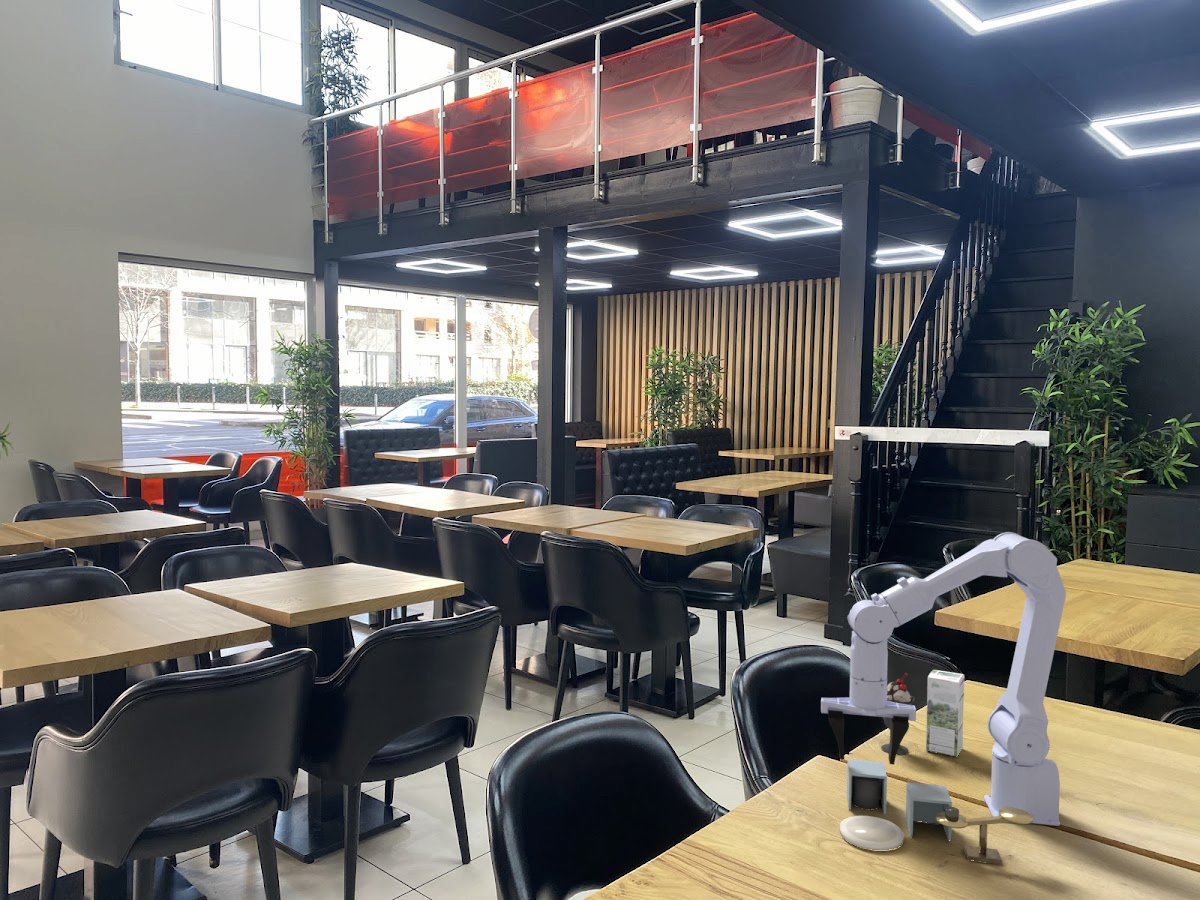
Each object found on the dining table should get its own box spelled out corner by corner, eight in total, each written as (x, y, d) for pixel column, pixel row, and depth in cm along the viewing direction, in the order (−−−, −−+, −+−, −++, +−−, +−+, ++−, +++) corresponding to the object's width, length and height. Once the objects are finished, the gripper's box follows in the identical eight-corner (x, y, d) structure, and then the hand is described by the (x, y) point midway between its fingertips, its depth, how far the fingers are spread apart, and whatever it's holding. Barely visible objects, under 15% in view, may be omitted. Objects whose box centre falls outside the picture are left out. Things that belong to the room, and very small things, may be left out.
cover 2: (944, 824, 132) (945, 785, 131) (950, 841, 126) (951, 802, 126) (905, 819, 133) (906, 781, 133) (910, 837, 127) (911, 797, 127)
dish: (899, 825, 131) (899, 819, 131) (906, 855, 122) (906, 847, 122) (838, 819, 133) (838, 812, 133) (841, 847, 124) (841, 840, 124)
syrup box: (963, 748, 162) (965, 672, 161) (957, 759, 157) (959, 681, 156) (931, 742, 165) (933, 667, 164) (925, 752, 160) (926, 675, 159)
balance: (1027, 855, 122) (1028, 809, 122) (1035, 871, 118) (1037, 823, 118) (932, 844, 125) (933, 799, 125) (937, 859, 121) (938, 812, 121)
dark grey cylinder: (877, 800, 140) (878, 773, 139) (880, 811, 136) (880, 783, 136) (852, 797, 141) (853, 770, 140) (853, 808, 137) (854, 780, 137)
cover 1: (882, 798, 140) (883, 762, 140) (886, 813, 135) (886, 776, 135) (846, 794, 142) (847, 758, 141) (848, 809, 136) (849, 772, 136)
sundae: (916, 758, 157) (918, 677, 156) (878, 754, 158) (880, 675, 158) (911, 744, 163) (912, 667, 163) (874, 741, 165) (876, 664, 164)
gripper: (822, 680, 135) (820, 764, 136) (919, 687, 132) (917, 774, 132) (821, 667, 142) (819, 747, 143) (913, 674, 139) (911, 756, 139)
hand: (866, 759), depth 138 cm, fingers open, 7 cm apart
